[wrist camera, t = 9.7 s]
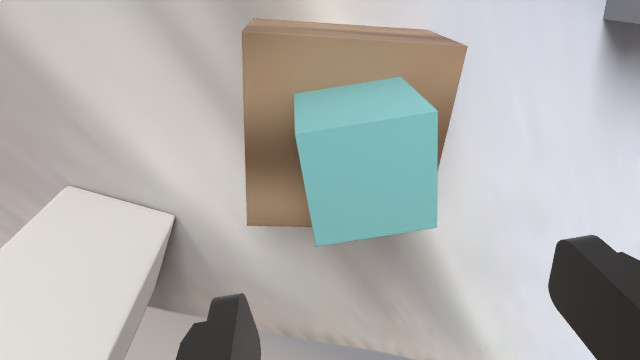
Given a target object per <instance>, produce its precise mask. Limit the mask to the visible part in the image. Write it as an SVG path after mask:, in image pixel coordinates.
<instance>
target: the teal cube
mask: <svg viewBox="0 0 640 360" xmlns="http://www.w3.org/2000/svg"><path fill="white" fill-rule="evenodd" d="M294 119H295V137H296V143H297V148H298V153H299V158H300V164H301V169H302V174H303V180H304V185H305V190H306V196H307V201H308V206H309V212H310V217H311V222H312V227H313V233H314V238H315V243H316V247H317V246H323V245H330V244H336V243H342V242H349V241H355V240H361V239H368V238H374V237H380V236H387V235H393V234H399V233H406V232H412V231H418V230H425V229H431V228H437V155H438V111H437V110H436V109H435V108H434V107H433V106H432V105H431V104H430V103H429V102H428V101H427V100H425V99H424V98H423V97H422V96H421V95H420V94H419V93H418V92H417V91H416V90H415V89H414V88H413V87H411V86H410V85H409V84H408V83H407V82H406V81H405V80H404V79H403V78H402V77H396V78H389V79H383V80H377V81H371V82H365V83H358V84H352V85H346V86H340V87H334V88H327V89H321V90H315V91H309V92H303V93H296V94H294Z"/></svg>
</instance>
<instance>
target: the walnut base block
mask: <svg viewBox="0 0 640 360" xmlns="http://www.w3.org/2000/svg"><path fill="white" fill-rule="evenodd" d="M467 47H468V46H466V45H463V44H461V43H458V42H456V41H453V40H451V39H448V38H446V37H443V36H441V35H438V34H436V33H433V32H431V31H428V30H420V29H405V28H390V27H375V26H360V25H345V24H330V23H315V22H300V21H285V20H270V19H255V18H253V19H252V21H251V22H250V23H249V24H248V25H247V27H246V28H245V29H244V30H243V31H242V51H243V89H244V127H245V164H246V202H247V226H298V227H312V222H311V217H310V212H309V206H308V201H307V196H306V190H305V185H304V180H303V174H302V169H301V164H300V158H299V153H298V148H297V143H296V137H295V119H294V94H296V93H303V92H309V91H315V90H321V89H327V88H334V87H340V86H346V85H352V84H358V83H365V82H371V81H377V80H383V79H389V78H396V77H402V78H403V79H404V80H405V81H406V82H407V83H408V84H409V85H410V86H411V87H413V88H414V89H415V90H416V91H417V92H418V93H419V94H420V95H421V96H422V97H423V98H424V99H425V100H427V101H428V102H429V103H430V104H431V105H432V106H433V107H434V108H435V109H436V110H437V111H438V155H437V171H438V167H439V163H440V159H441V155H442V151H443V146H444V142H445V138H446V134H447V130H448V126H449V121H450V117H451V113H452V109H453V105H454V101H455V97H456V92H457V88H458V84H459V80H460V76H461V72H462V68H463V63H464V59H465V55H466V51H467Z"/></svg>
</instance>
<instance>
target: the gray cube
mask: <svg viewBox="0 0 640 360" xmlns="http://www.w3.org/2000/svg"><path fill="white" fill-rule="evenodd" d="M603 19H607V20H614V21H621V22H628V23H635V24H640V0H607V2H606V7H605V13H604V18H603Z"/></svg>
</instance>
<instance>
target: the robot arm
mask: <svg viewBox="0 0 640 360" xmlns="http://www.w3.org/2000/svg"><path fill="white" fill-rule="evenodd" d="M548 287H549V293H550V297H551V299H552V302H553V304H554V305H555V307H556V308H557V310H558V311H559V312H560V314H561V315H562V316H563V317H564V319H565V320H566V321H567V322H568V324H569V325H570V326H571V327H572V329H573V330H574V331H575V333H576V334H577V335H578V336H579V338H580V339H581V340H582V341H583V343H584V344H585V345H586V346H587V348H588V349H589V350H590V351H591V353H592V354H593V355H594V356H595V358H596V359H597V360H640V261H639V260H637V259H635V258H633V257H631V256H629V255H627V254H625V253H623V252H619V253H617V252H616V251H614V250H613V249H612V248H611V247H610V246H609V245H607V244H606V243H605V242H604V241H603V240H602V239H600V238H599V237H597V236H594V235H588V236H582V237H577V238H571V239H565V240H560V241H559V242H558V243H557V245H556V249H555V254H554V259H553V264H552V269H551V274H550V279H549V284H548ZM260 358H261V348H260V339H259V334H258V331H257V328H256V325H255V322H254V319H253V316H252V313H251V311H250V308H249V305H248V302H247V299H246V297H245V295H244V294H243V293H241V294H235V295H229V296H223V297H217V298H214V299H213V300H212V302H211V305H210V309H209V314H208V318H207V321H205V322H199V323H194V324H193V326H192V327H191V328H190V330H189V331H188V333H187V334H186V336H185V337H184V339H183V340H182V342H181V343H180V347H179V350H178V354H177V357H176V360H261V359H260Z"/></svg>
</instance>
